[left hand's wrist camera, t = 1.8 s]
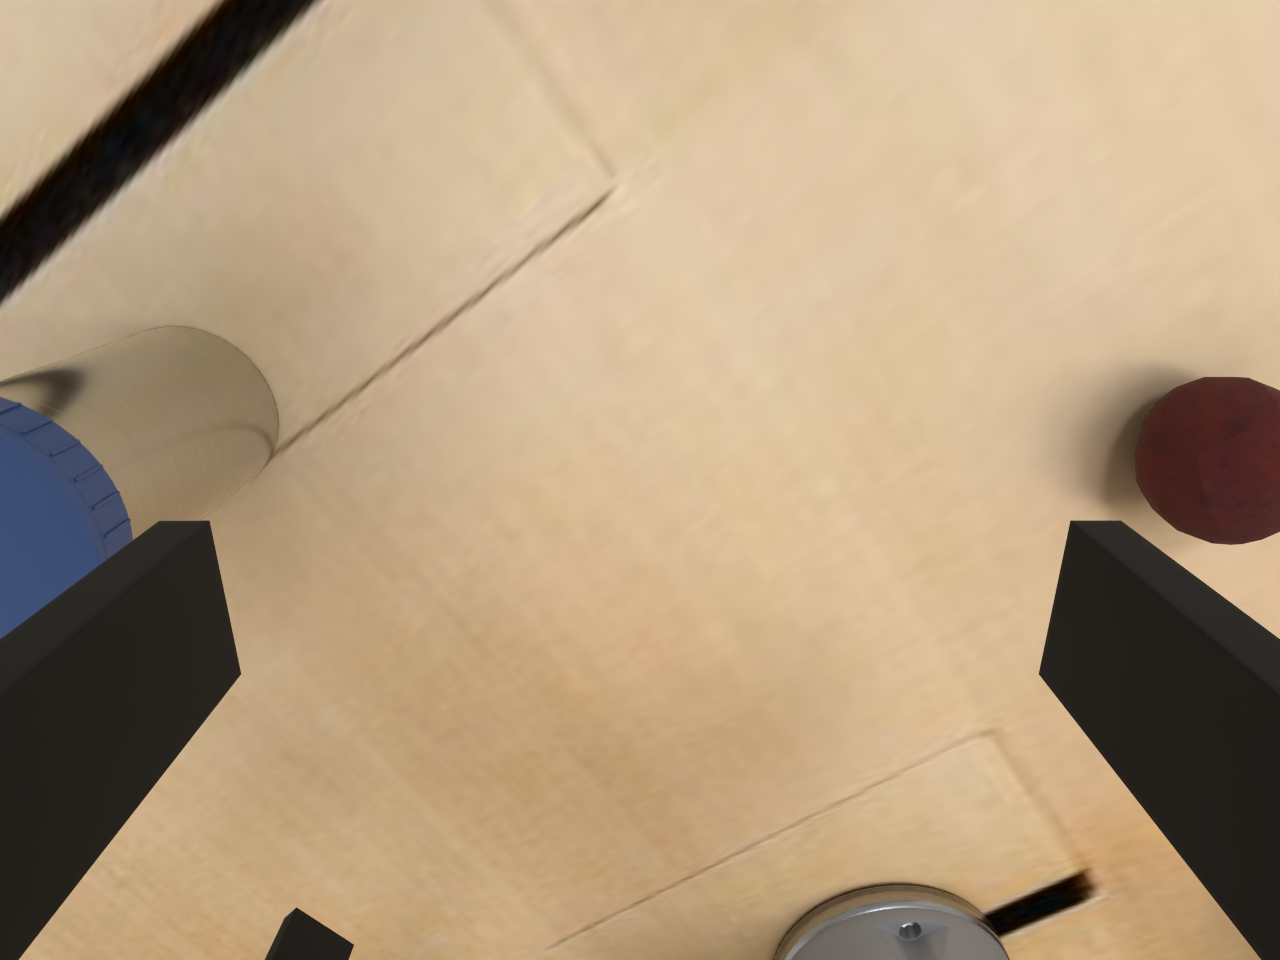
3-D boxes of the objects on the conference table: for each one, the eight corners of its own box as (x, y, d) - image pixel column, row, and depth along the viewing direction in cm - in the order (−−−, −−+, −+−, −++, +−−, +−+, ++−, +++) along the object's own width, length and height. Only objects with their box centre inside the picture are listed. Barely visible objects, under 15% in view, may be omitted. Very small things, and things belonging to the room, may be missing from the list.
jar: (209, 295, 39) (-32, 370, 25) (312, 448, 41) (147, 592, 28) (68, 373, 40) (-236, 485, 26) (176, 516, 43) (-46, 686, 29)
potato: (1137, 530, 43) (1227, 597, 36) (1079, 411, 41) (1163, 459, 34) (1276, 456, 41) (1396, 512, 35) (1224, 329, 39) (1342, 362, 33)
